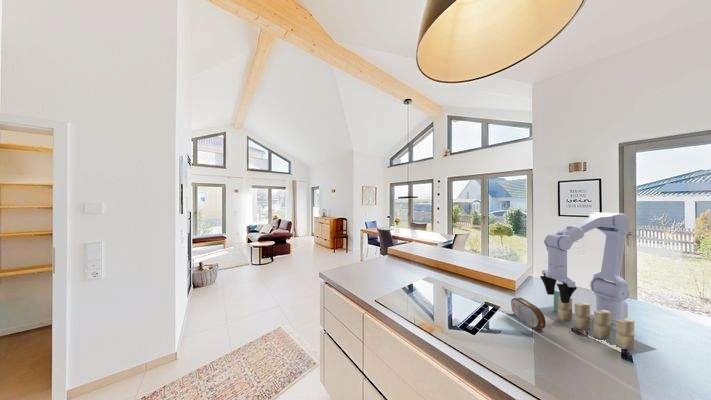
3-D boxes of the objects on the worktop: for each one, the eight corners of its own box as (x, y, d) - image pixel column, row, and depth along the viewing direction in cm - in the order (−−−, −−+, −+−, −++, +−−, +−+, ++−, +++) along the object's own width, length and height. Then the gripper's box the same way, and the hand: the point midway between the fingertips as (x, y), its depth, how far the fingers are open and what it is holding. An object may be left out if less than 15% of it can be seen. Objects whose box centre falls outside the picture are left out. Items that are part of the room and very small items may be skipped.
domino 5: (626, 344, 78) (626, 318, 77) (634, 348, 76) (634, 320, 76) (615, 346, 76) (616, 319, 76) (623, 350, 75) (623, 322, 75)
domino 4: (604, 334, 83) (604, 309, 83) (610, 337, 82) (610, 312, 82) (593, 336, 82) (593, 311, 82) (600, 339, 81) (600, 313, 80)
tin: (546, 333, 84) (546, 311, 84) (538, 333, 84) (538, 311, 84) (516, 313, 100) (516, 294, 99) (509, 313, 99) (509, 294, 99)
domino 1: (562, 309, 102) (562, 289, 102) (567, 311, 100) (567, 290, 100) (553, 310, 101) (553, 290, 101) (558, 312, 99) (558, 291, 99)
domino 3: (584, 325, 89) (584, 302, 89) (589, 327, 87) (590, 304, 87) (574, 326, 88) (574, 303, 88) (580, 329, 86) (580, 305, 86)
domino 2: (567, 317, 95) (567, 295, 95) (572, 319, 93) (572, 297, 93) (557, 318, 94) (557, 297, 94) (562, 321, 92) (562, 298, 92)
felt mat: (555, 306, 105) (555, 305, 105) (657, 350, 75) (657, 349, 75) (531, 309, 102) (531, 309, 102) (626, 356, 72) (626, 355, 72)
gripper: (534, 259, 99) (534, 290, 99) (560, 269, 85) (560, 306, 85) (552, 259, 98) (552, 291, 99) (581, 270, 84) (581, 307, 84)
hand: (557, 298), depth 92 cm, fingers open, 7 cm apart
